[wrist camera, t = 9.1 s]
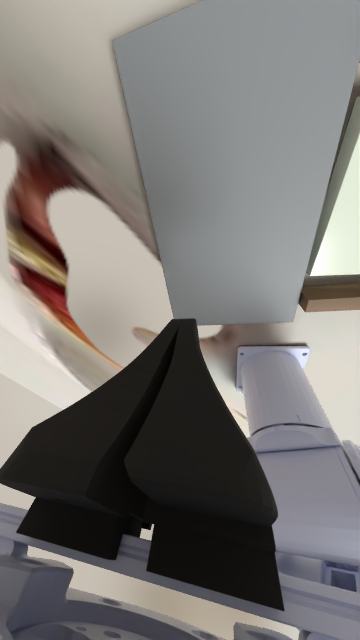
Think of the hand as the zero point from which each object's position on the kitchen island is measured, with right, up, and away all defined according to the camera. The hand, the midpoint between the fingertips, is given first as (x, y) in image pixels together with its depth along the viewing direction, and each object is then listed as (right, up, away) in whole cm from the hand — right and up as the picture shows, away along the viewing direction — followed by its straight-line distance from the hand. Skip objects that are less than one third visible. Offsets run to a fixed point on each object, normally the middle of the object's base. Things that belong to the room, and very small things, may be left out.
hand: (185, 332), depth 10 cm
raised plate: (+4, +9, +5) cm, 11 cm away
